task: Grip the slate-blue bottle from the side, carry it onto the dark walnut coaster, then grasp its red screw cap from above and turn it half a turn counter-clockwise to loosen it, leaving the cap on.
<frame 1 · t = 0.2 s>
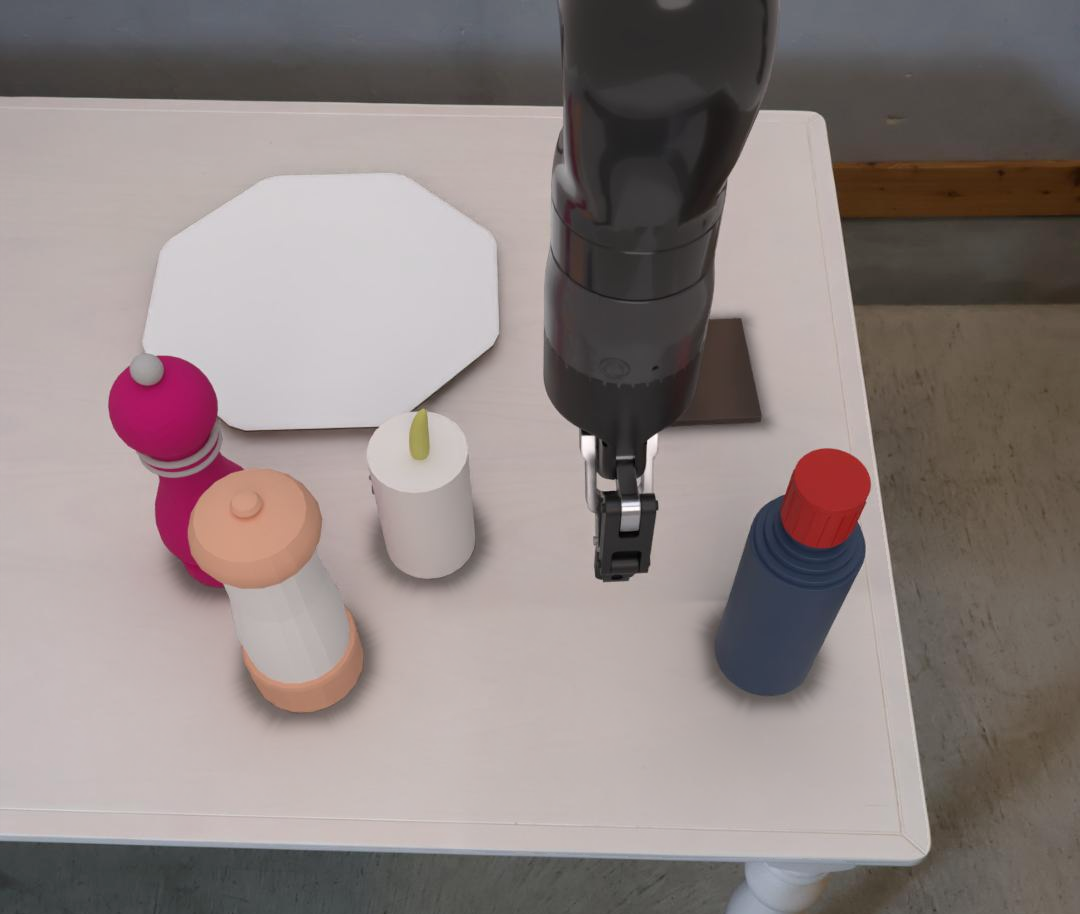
hand: (606, 510, 64), 12 cm above the table, tool pointing down, fingers open, 8 cm apart
bottle: (763, 651, 73), on the table
pepper shaker: (308, 662, 73), on the table
plate: (328, 304, 90), on the table
pepper mill: (229, 550, 77), on the table
coaster: (686, 373, 86), on the table
candle: (429, 541, 78), on the table
cap: (830, 483, 57), point 20 cm above the table, screwed on, not yet turned
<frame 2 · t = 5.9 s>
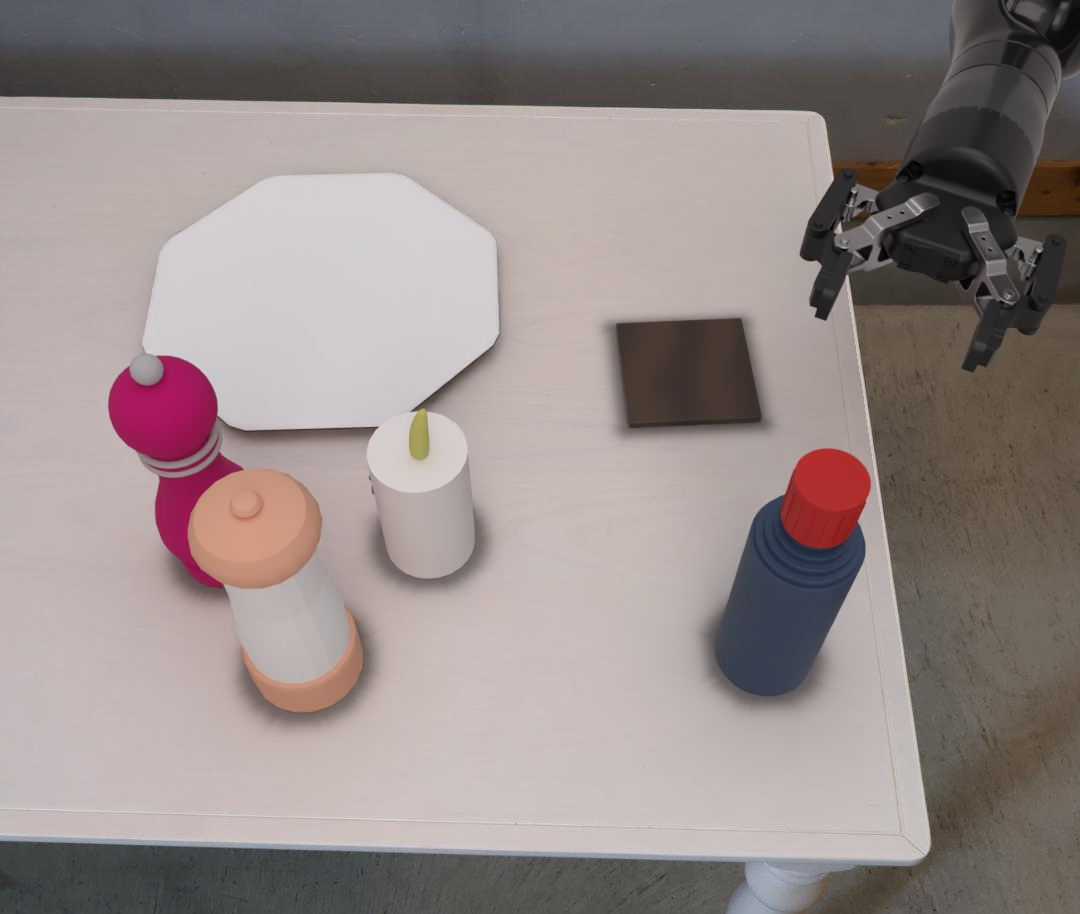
hand: (897, 335, 61), 20 cm above the table, tool horizontal, fingers open, 8 cm apart
nothing on the table moved.
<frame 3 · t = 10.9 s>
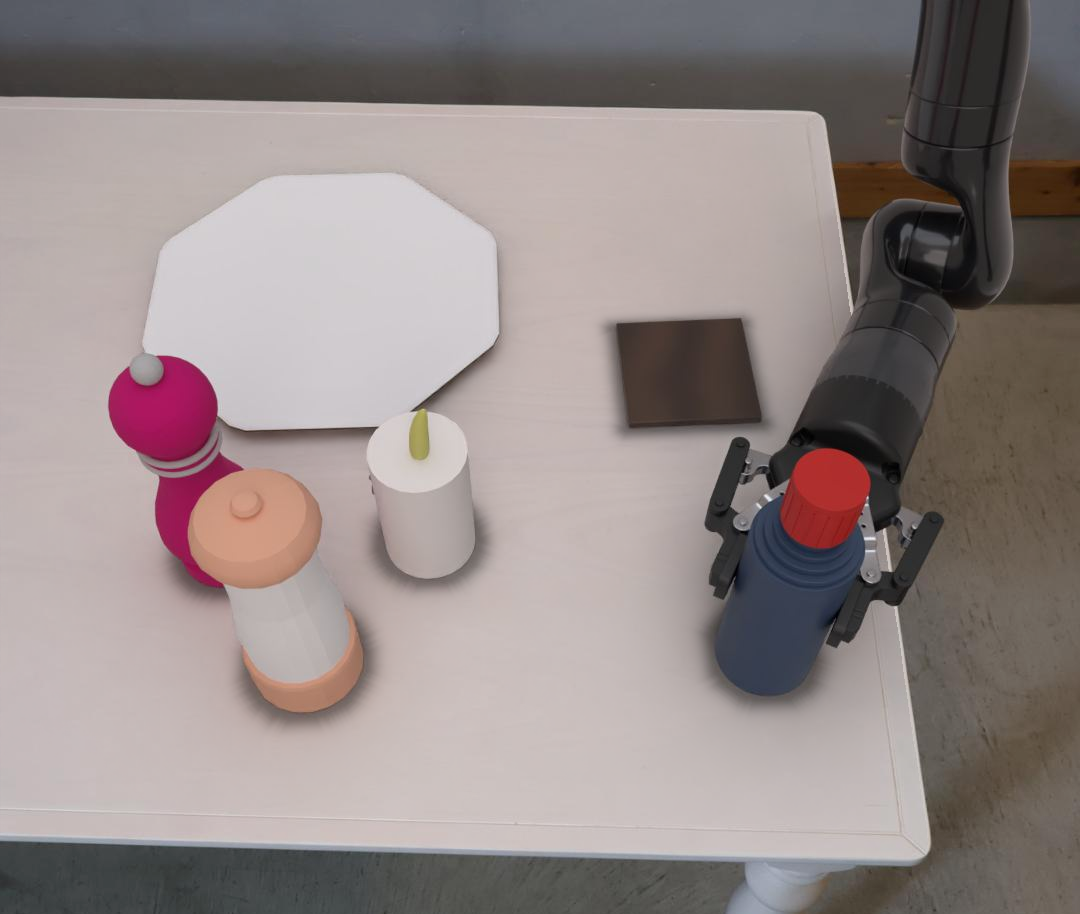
hand: (777, 615, 65), 9 cm above the table, tool horizontal, fingers closed on bottle, 6 cm apart
bottle: (763, 651, 73), on the table, touching gripper
everything else where it was.
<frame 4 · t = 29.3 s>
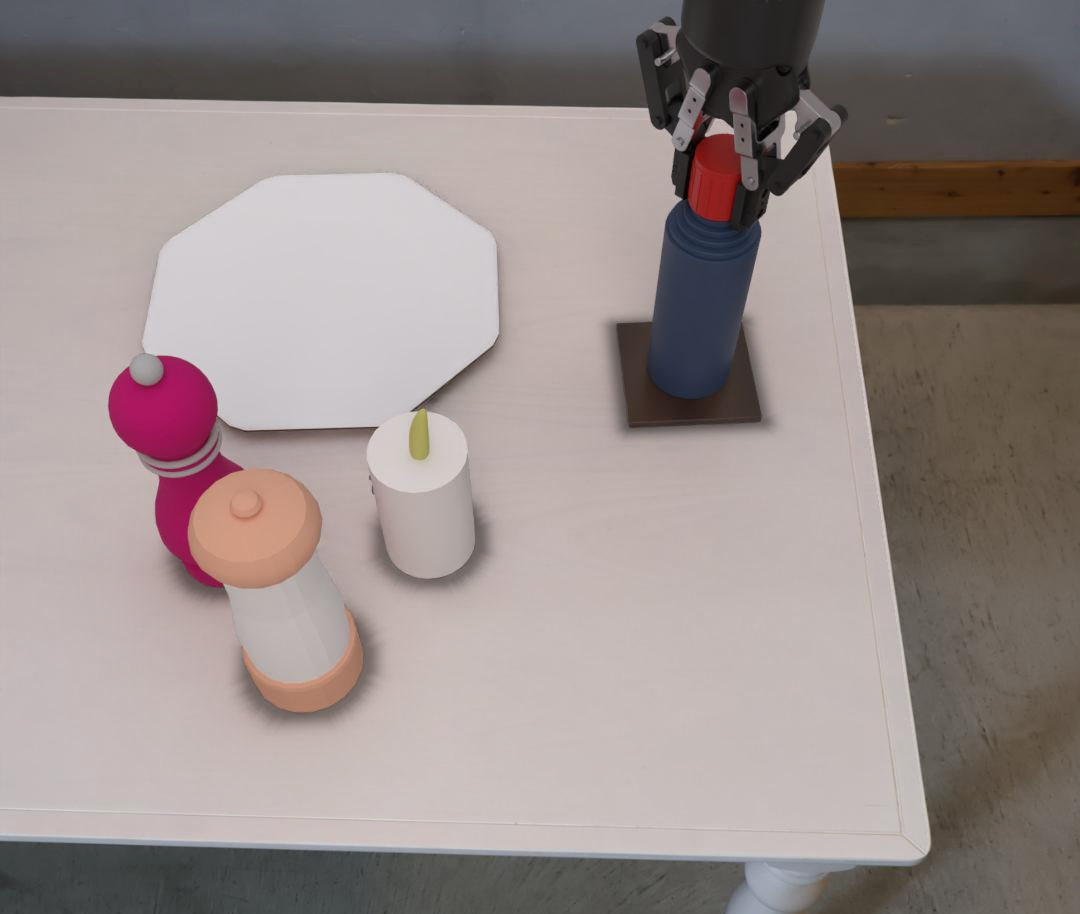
hand: (715, 206, 72), 17 cm above the table, tool pointing down, fingers closed on cap, 4 cm apart
bottle: (688, 366, 85), point 1 cm above the table, touching coaster
cap: (725, 159, 69), point 20 cm above the table, screwed on, not yet turned, touching gripper
everything else where it was.
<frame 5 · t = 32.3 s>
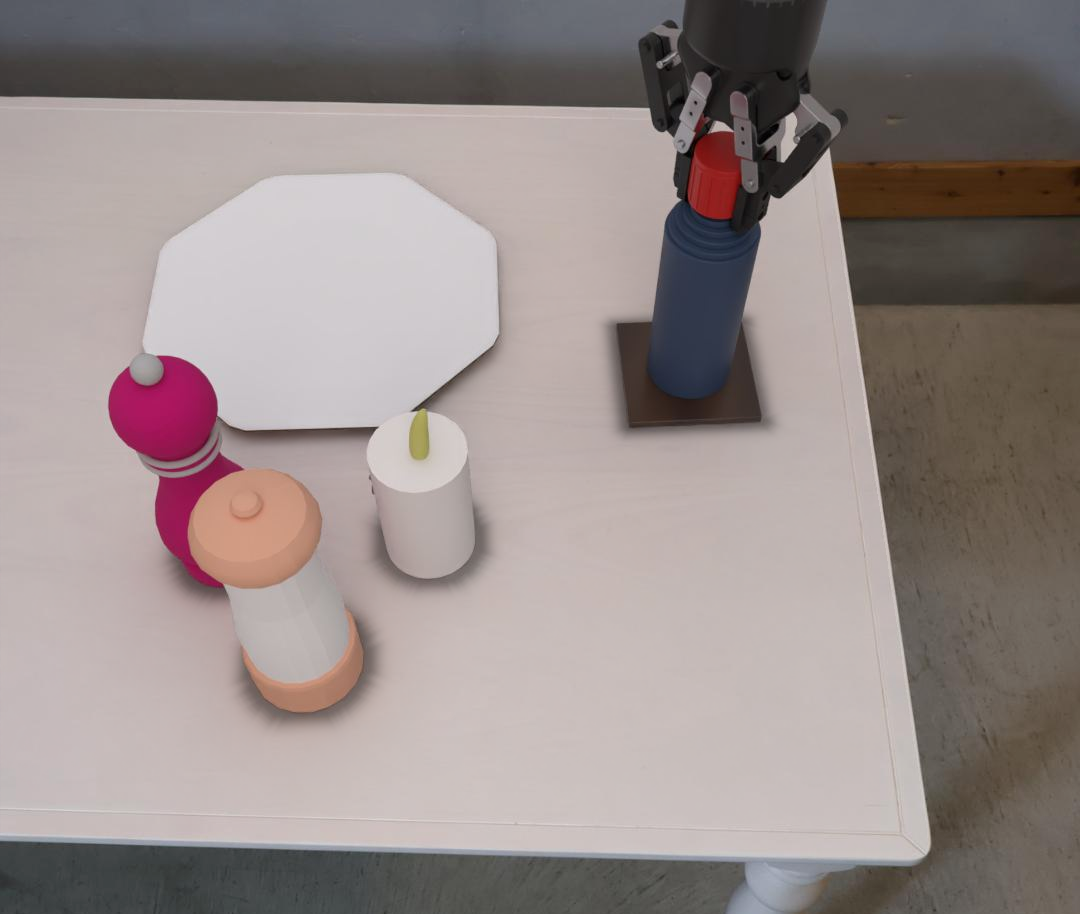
hand: (716, 208, 72), 16 cm above the table, tool pointing down, fingers closed on cap, 3 cm apart
bottle: (688, 366, 85), point 1 cm above the table, touching coaster, gripper
cap: (725, 156, 69), point 20 cm above the table, turned 181° so far, risen 0.2 cm, still on its thread, touching gripper
everything else where it was.
when the fingers open (16 cm above the table, at t = 36.7 s): cap stays where it is, point 20 cm above the table.
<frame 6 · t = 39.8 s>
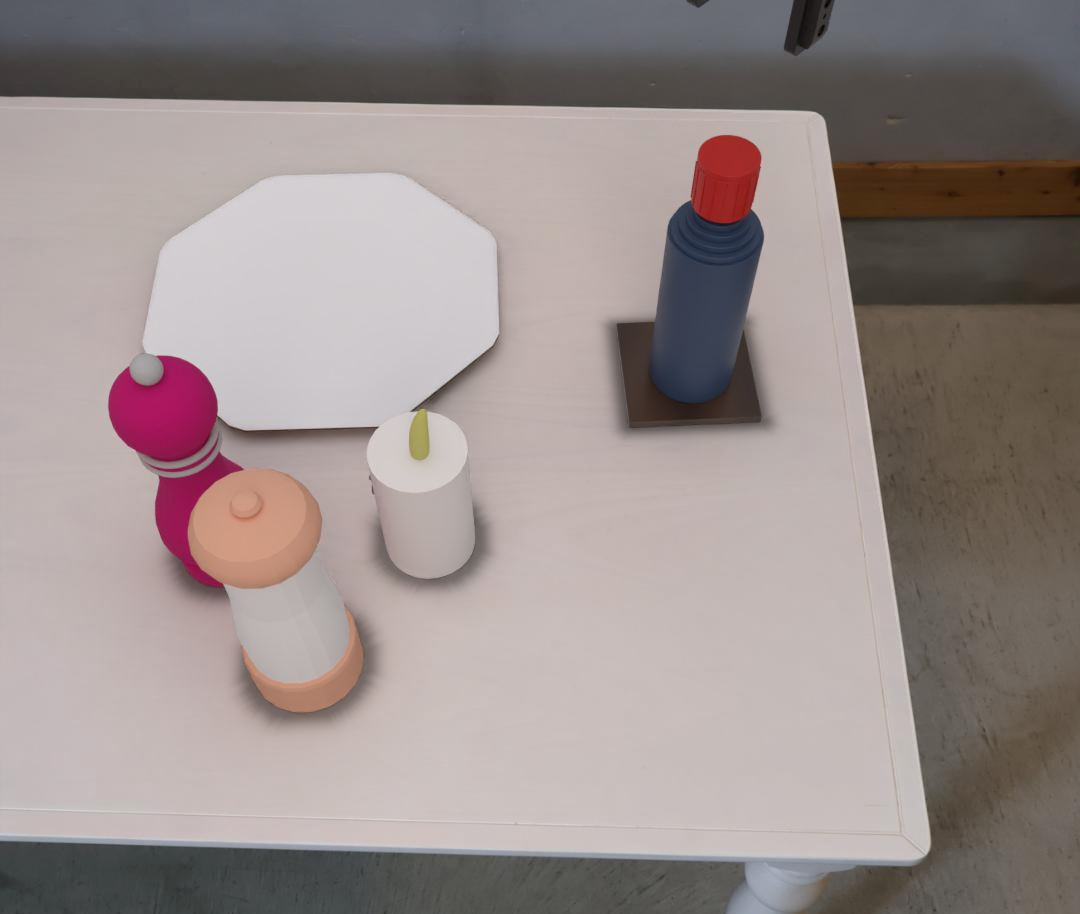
hand: (749, 21, 61), 30 cm above the table, tool pointing down, fingers open, 6 cm apart
bottle: (690, 370, 85), point 1 cm above the table, touching coaster
cap: (728, 160, 68), point 20 cm above the table, turned 181° so far, risen 0.2 cm, still on its thread
everything else where it was.
at the end: cap turned 0.50 turns (still on its thread); cap is still on its thread (0.50 turns); bottle 0.3 cm off-centre on the coaster, point 0.6 cm above the coaster's base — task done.
